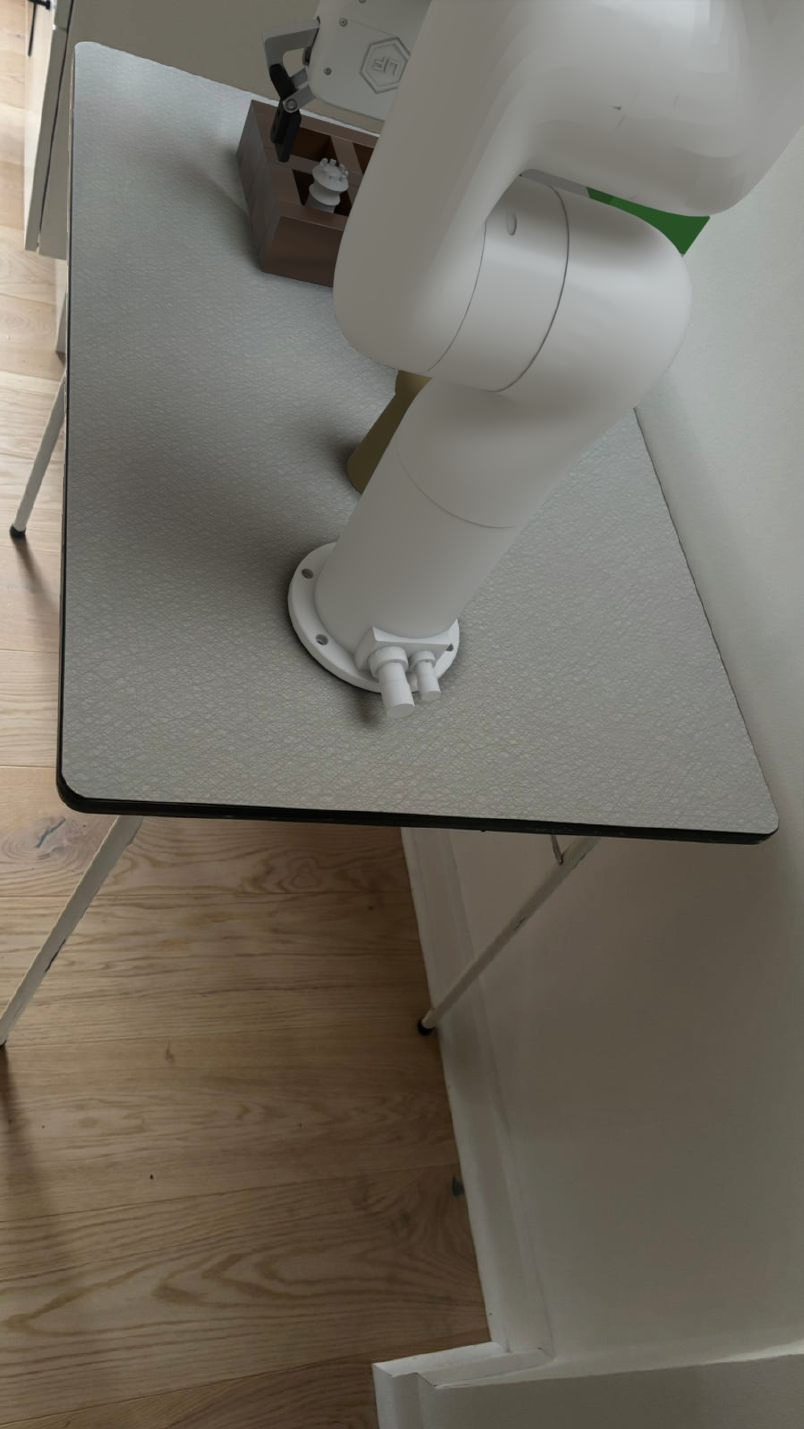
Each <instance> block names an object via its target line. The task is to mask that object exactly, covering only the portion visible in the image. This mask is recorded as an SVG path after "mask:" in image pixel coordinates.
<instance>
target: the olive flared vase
mask: <svg viewBox="0 0 804 1429" xmlns="http://www.w3.org/2000/svg"><path fill="white" fill-rule="evenodd" d="M431 379H432V378H431V377H427V376H423V375H418V374H414V373H410V372H406V371H402V370H398V372H397V374H396V376H395V382H394V395H393V397H392V398H391V399H390V401H389V402H388V403H387V405H386V406H385V408H384V409H383V411H382V412H381V413H380V415H379V416H378V418H377V419H376V420H375V422H374V423H373V424H372V426H371V427H370V428H369V430H368V432H366V434H365V436H364V437H363V438H362V440H361V441H360V442H359V444H358V445H357V447H356V448H355V449H354V451H353V452H352V454H351V455H350V457H349V458H348V460H347V461H346V473H347V477H348V480H349V481H350V482H351V484H352V485H353V487H354V488H355V489H356V491H358V492H359V493H360V494H361V495H362V494H363V492H364V490H365V488H366V486H367V485H368V483H369V481H370V479H371V477H372V475H373V473H374V471H375V469H376V468H377V466H378V464H379V462H380V460H381V458H382V456H383V454H384V452H385V450H386V449H387V447H388V445H389V443H390V441H391V439H392V437H393V435H394V434H395V432H396V430H397V428H398V427H399V425H400V423H401V421H402V419H403V417H404V415H405V413H406V412H407V410H408V408H409V407H410V405H411V403H412V402H413V400H414V399H415V397H416V396H417V395H418V393H419V392H420V391H421V390H422V388H423V387H424V386H425V385H426V384H427V383H428V382H429V381H430V380H431Z"/></svg>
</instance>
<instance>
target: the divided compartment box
mask: <svg viewBox="0 0 804 1429" xmlns="http://www.w3.org/2000/svg"><path fill="white" fill-rule="evenodd" d="M277 107H278V105H273V104H270V103H266V102H263V101H260V100H257V99H253V98H252V99H251V100H250V103H249V106H248V111H247V114H246V117H245V121H244V124H243V128H242V132H241V136H240V139H239V142H238V146H237V149H236V153H235V160H236V164H237V168H238V173H239V177H240V181H241V185H242V190H243V194H244V198H245V199H244V200H245V203H246V207H247V211H248V215H249V220H250V225H251V230H252V233H253V237H254V241H255V248H256V251H257V255H258V259H259V262H260V263H259V264H260V268H261V272H263V273H268V274H271V275H276V276H281V277H286V278H289V279H290V278H291V279H295V280H298V281H304V282H308V283H312V284H317V285H321V286H325V287H326V286H327V287H330V288H333V284H334V273H335V267H336V262H337V257H338V253H339V248H340V243H341V240H342V237H343V233H344V230H345V227H346V223H347V220H348V217H349V215H350V212H351V209H352V206H353V204H354V201H355V198H356V195H357V193H358V190H359V187H360V185H361V182H362V179H363V177H364V174H365V172H366V169H367V166H368V164H369V161H370V159H371V156H372V154H373V151H374V148H375V146H376V143H377V141H378V138H379V136H376V135H373V134H370V133H367V132H363V131H360V130H356V129H354V128H353V129H352V128H350V127H347V126H343V125H339V124H336V123H333V122H330V121H327V120H323V119H320V118H317V117H313V116H309V115H307V114H303V113H300V114H301V117H302V120H301V124H300V127H299V130H298V133H297V136H296V139H295V142H294V145H293V148H292V152H291V155H290V158H289V161H288V162H287V161H286V163H283V162H280V161H279V160H278V157H277V153H276V149H275V146H274V143H272V142H271V139H270V132H271V127H272V124H273V121H274V117H275V114H276V111H277ZM324 158H326V159H327V160H328V161H327V164H329V162H330V160H331V159H333V160H336V163H335V166H336V167H338V168H339V166H340V164H342V165H343V166H344V167H346V168H345V170H344V171H348V177H347V181H348V188H347V190H345V191H344V192H342V193H340V194H339V198H340V202H339V204H338V205H336V207H335V209H334V212H333V213H331V212H327V211H323V210H319V209H315V208H311V207H307V206H304V205H305V203H306V201H307V199H308V197H309V194H310V191H309V187H310V186H311V185H312V184H314V181H315V180H314V177H313V172H312V170H313V169H314V167H316V166H318V165H319V164H320V161H322V159H324Z"/></svg>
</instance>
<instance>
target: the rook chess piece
mask: <svg viewBox="0 0 804 1429" xmlns="http://www.w3.org/2000/svg"><path fill="white" fill-rule="evenodd" d="M327 161H328V160H327V159H326V158H324V159H322V161H320V164H319V165H318V166H316V167H314V169H313V170H312V172H313V177H314V180H315V181H314V184H312V185H311V186H310V187H309V191H310V194H309V197H308V199H307V201H306V203H305V205H304V206H307V207H311V208H315V209H319V210H323V211H327V212H331V213H333V212H334V209H335V207H336V205H338V204H339V202H340V198H339V194H340V193H342V192H344V191H345V190H347V188H348V181H347V177H348V171H344V170H345V168H346V167H344V166H343V165H342V164H340V166H339V168H338V167H336V166H335V163H336V160H333V159H331V160H330V162H329V164H327Z"/></svg>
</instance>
